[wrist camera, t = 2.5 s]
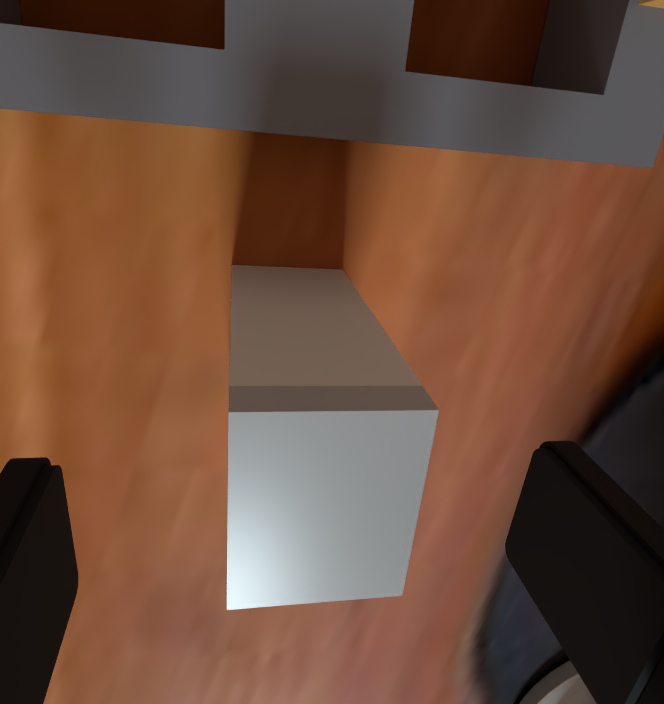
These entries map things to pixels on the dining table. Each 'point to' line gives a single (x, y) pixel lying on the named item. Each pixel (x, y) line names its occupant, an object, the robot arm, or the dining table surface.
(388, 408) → the plug
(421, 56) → the dining table surface
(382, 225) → the dining table surface
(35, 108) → the power strip
